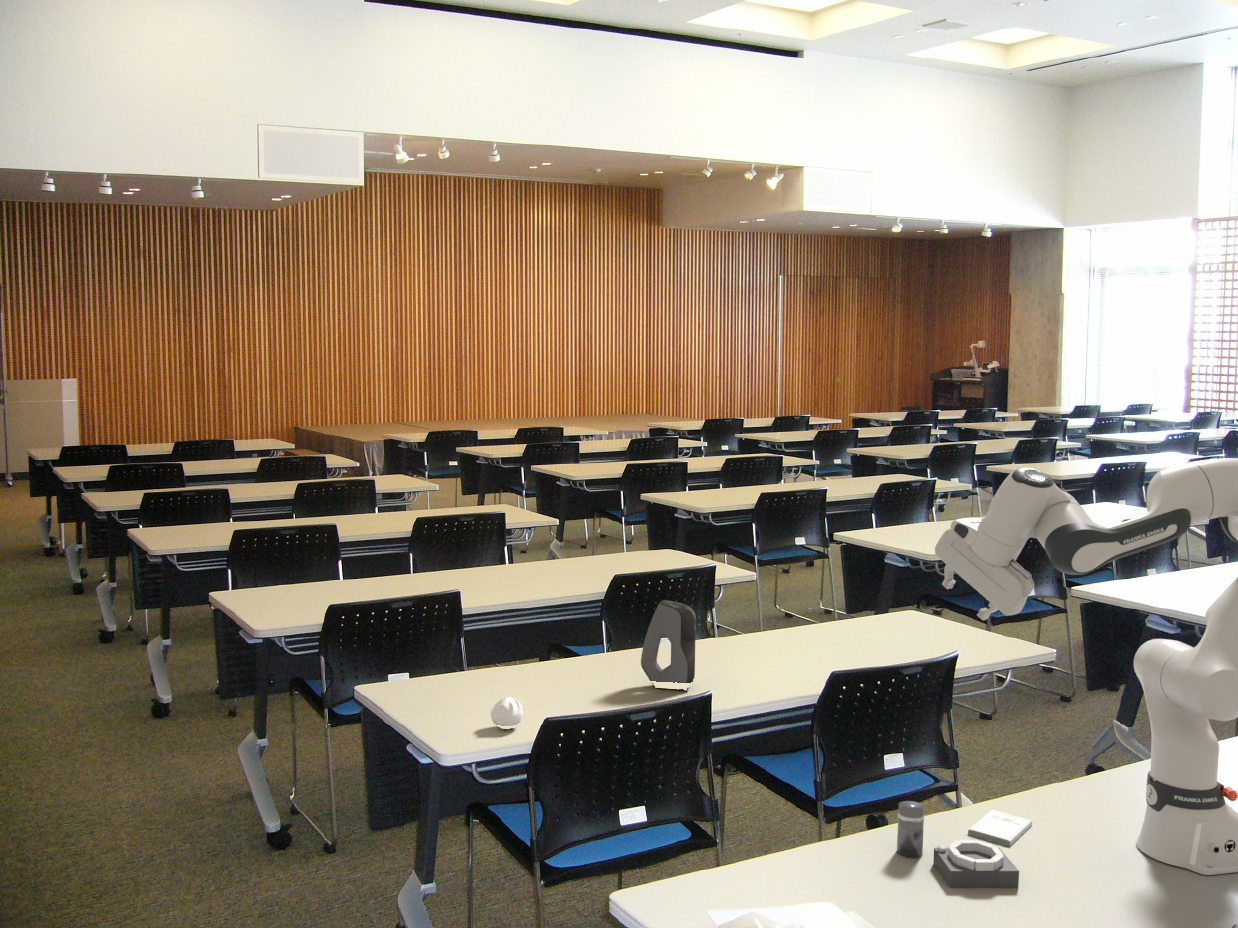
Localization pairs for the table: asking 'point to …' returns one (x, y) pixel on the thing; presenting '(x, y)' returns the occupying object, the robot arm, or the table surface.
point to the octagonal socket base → (975, 865)
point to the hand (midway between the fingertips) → (963, 601)
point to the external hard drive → (1000, 827)
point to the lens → (910, 829)
